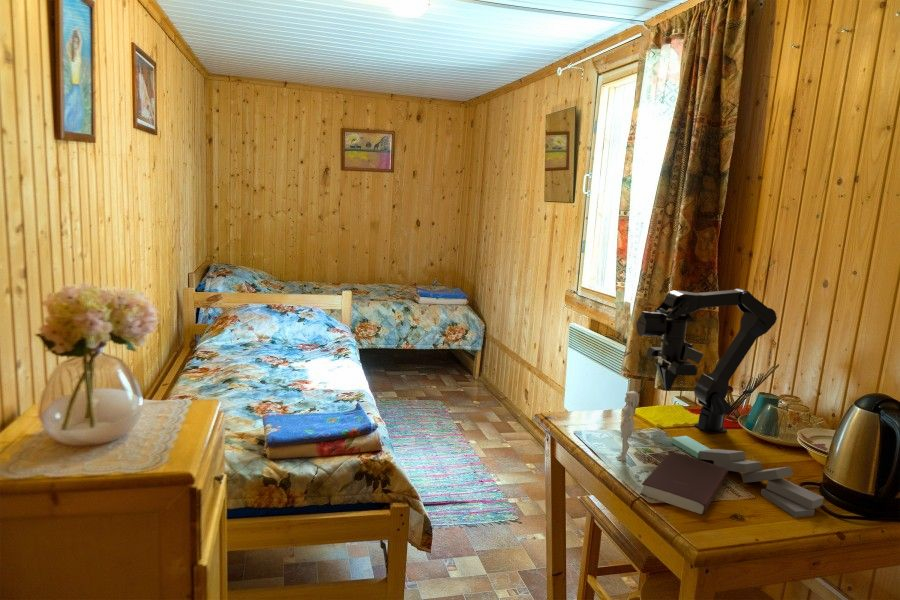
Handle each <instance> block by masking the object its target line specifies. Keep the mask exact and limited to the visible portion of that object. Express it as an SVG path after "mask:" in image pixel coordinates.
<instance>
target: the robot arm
mask: <svg viewBox="0 0 900 600" xmlns="http://www.w3.org/2000/svg"><path fill="white" fill-rule="evenodd" d="M728 306H736V307H737V308H738V309H739V310H740V311H741V313H742V316H741V318H740V324H739V325H740V327H739V330H738V333H736V335H735V337H734V339H733V340H732V341H731V342H730V345H729V346H728V348H727V349H726V351H725V353H724V354H723V355H722V357H721V358H720V360H719V361H718V363H717V364H716V366H715V368H714V369H713V371H711V372H710V373H708V374H705V373H701V375H700V376H699V379H698V380H696V382H695V383H694V389H693V392H694V396H695V397H696V398H697V399H696V400H697V403H698V404H699V405H701V406H702V407H701V408H700V412H699V414H698V422H697V423H694V426H695V427H697V428H698V429H700V430H702V431H704V432H706V433H708V434H710V435H712V434H719V433H720V434H721V433H727V432H728V429H726V428H724V424H725V419H726V418H725V417H726V415H729V414H730V413H731V411H732V409H733V407H732V406H731V405H730V403H729V402H728V401H727V400H726V398H727V396H728V393H729V382H730V380H731V379H732V377H733V376H734V374H735V373H736V371H737V369H738V367H740V365H741V363H742V362H743V361H744V359H745V357H746V356H747V355H748V352H750V350H751V348H752V346H753V345H754V344H755V342H756V340H757V339H759V338H760V337H762V336H763V335H765V334H767V333H768V332H769V331H770V330H771V328H772V327H773V326H775V324H776V322H777V319H778V317H777V313H776V311H775V310H774V308H770V307H768V306H766V305H765V304H764V303H762V302H761V301H760V300H759V299H757V298H756V297H755V296H754V295H753V294H752V293H751V292H750V291H748V290H745V289H742V288H735V289H727V290H715V291H707V292H706V291H705V292H691V291H685V290H671V291H668V293H667V294H666V295H665V297H664V299H663V300H662V302H661V303H660V304H659V306H658V307H657V308H656V309H655V310H654V311H646V310H643V311H641V315H639V317H638V318H637V321H636V323H635V324H636V327H635V328H636V333H637V335H638V336H640V337H659V342H661V346H650V347H649V348H648V349H647V350H646V357H647V358H649V359H654V357H656V358H657V359H658V360H657V362H655V363H654V364H655V366H656V368H657V370H658V373H659V376H660V379H661V381H662V384H663V388H664V390H666V391H670V390H671V388H672V386H673V385H674V383H675V380H676V379H677V378H678V376H690V377H691V376H698V371H699V370H698V369H699V368H698V366H696V364H698V365H700V363H701V360H703V357H704V355H705V354H704V353H702V352H700V351H699V350H697V349H695V348H693V344H692V343H690V342H687V341H686V334H687V333H686V332H687V326H688V323H695V322H696V319H694V317H693V316H692V315H691V314H692V313H695V312H697V311H699V310H701V309H706V308H717V307H728ZM662 336H663V337H662ZM690 361H692V362H694V363H695V364H694V363H692V362H690Z"/></svg>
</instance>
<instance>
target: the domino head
mask: <svg viewBox="0 0 900 600" xmlns="http://www.w3.org/2000/svg"><path fill="white" fill-rule="evenodd" d="M670 442H671V444H673V445H675V446H677V447H678V448H679V449H681V448H682V449H681V450H683V451H684V450H685V451H684V452H686V453H688V454H689V453H690V454H689V455H691V456H693V458H695V459H700V455H699V451H704V450H711V449H710V448H709V447H708V446H705V445H703V444H702V443H700V442H699V441H697V440H695V439H693V438H691V437H690V436H687V435H681V436H673V437H671V441H670Z"/></svg>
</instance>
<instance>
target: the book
mask: <svg viewBox="0 0 900 600" xmlns="http://www.w3.org/2000/svg"><path fill="white" fill-rule="evenodd" d="M728 474H729V471H728V470H727V469H725V468H722V467H719V466H717V465H714V463H711V462H708V461H704V460H703V459H700V458H696V457H691V456H689V455H685V454H681V453H678V452H674V451H670V452H668V454H667V455H666V456H665V457H664V458H663V459H662V461H661V462H659V464H658V465H657V466H656V468H654V470H653V471H652V472H651V473H650V474H649V475H648V476H647V477H646V479H644V480H643V482H642V483H641V485H642V486H643V487H642V491H641V492H640V493H639V495H641V496H643V497H648V498H651V499H654V500H656V501H660V502H663V503H667V504H669V505H672V506H675V507H678V508H680V509H681V508H682V509H685V510H687V511H691V512H693V513H696V514H699V515H700V516H703V515H705V514H706V511H707V509H708V508H709V506H710V504H711V503H712V502H713V499H714V498H715V497H716V496H717V494H718V492H719V491H720V489H721V487H722V486H723V485H724V483H725V482H726V480H727V477H728ZM716 493H717V494H716Z"/></svg>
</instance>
